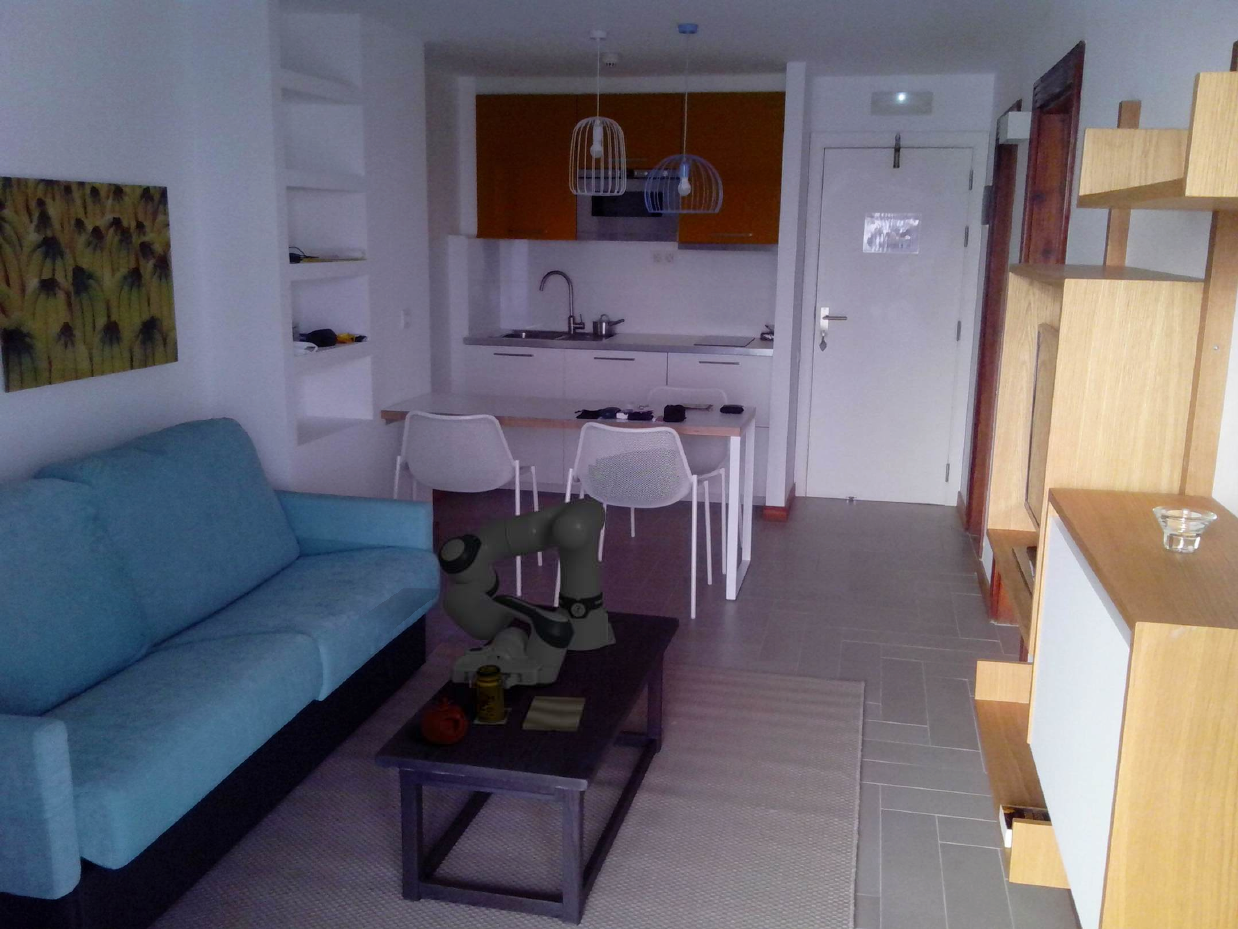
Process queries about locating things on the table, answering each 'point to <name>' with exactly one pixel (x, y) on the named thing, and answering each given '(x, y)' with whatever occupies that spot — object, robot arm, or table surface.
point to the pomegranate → (444, 723)
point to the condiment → (490, 696)
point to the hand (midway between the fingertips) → (488, 685)
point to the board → (554, 713)
